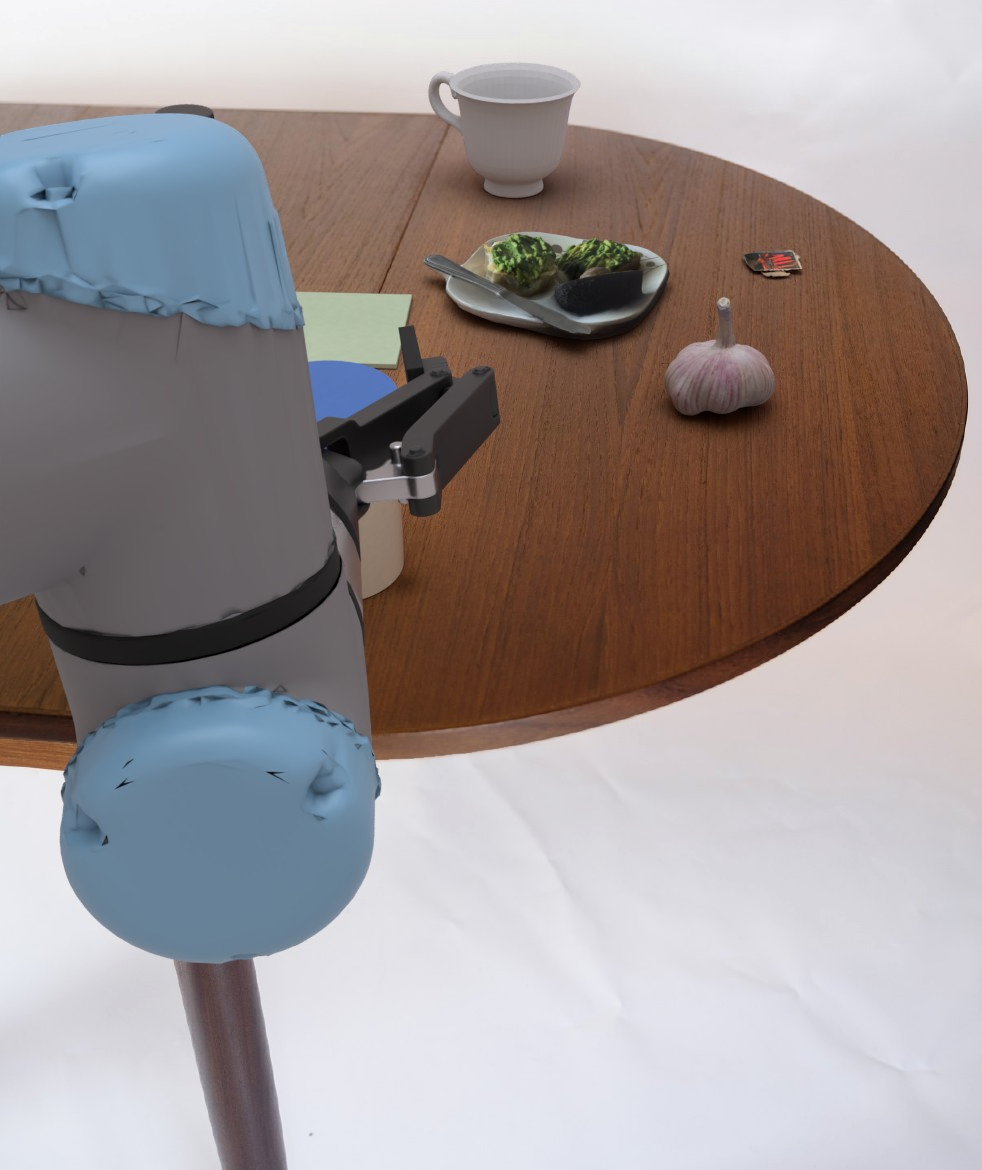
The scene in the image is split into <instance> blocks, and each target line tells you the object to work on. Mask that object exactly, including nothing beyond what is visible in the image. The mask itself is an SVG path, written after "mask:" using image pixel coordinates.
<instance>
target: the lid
mask: <svg viewBox="0 0 982 1170" xmlns="http://www.w3.org/2000/svg"><path fill="white" fill-rule="evenodd" d="M308 364H309V371H310V378H311V386H312V393H313V400H314V407H315V414H316V421H317V422H318V421H320V420H322V419H323V418H325V417H328V416H330V417H337V418H344V419H346V418H348V417H349V416H351V415H353V414H355V413H356V412H358V411H360V410H362V409H363V408H365V407H367V406H368V405H370V404H372V403H374V402H375V401H377V400H379V399H381V398H382V397H384V396H386V395H388V394H389V393H391V392H393V391H394V390H396V389H398V387H397V385H396V383H395V382H394V380H393V379H392V378H390V376H389V375H387V374H386V373H384V372H383V371H381V370H379V369H378V368H372V367H369V366H366V365H363V364H359V363H353V362H347V361H334V360H322V361H310V362H308ZM324 449H327V447H325V448H324Z"/></svg>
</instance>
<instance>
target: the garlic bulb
mask: <svg viewBox="0 0 982 1170" xmlns="http://www.w3.org/2000/svg"><path fill="white" fill-rule="evenodd" d="M716 309H717V314H718V320H719V327H718V332H717V337H716V339H710V340H706V341H703V342H702V341H701V342H700V341H697V342H696V341H695V342H693V343H690V344H688V345H686V346H685V347H684V348H682V349H681V350H680V351H679V352H678V354H677V355H676V357H675V359H673V360H672V361H671V363H670V364H669V365H668V367H667V368H666V370H665V373H664V387H665V389H666V391H667V394H668V395H669V396H670V399H671V402H672V405H673V407H674V408H675V409H676V411H678V412H679V413H681V414H682V415H685V416H695V415H699V414H700V413H703V412H707V411H708V412H712V413H714V414H717V415H725V414H729V413H732V412H735V411H737V410H738V409H740V408H746V407H757V406H760V405H762V404H764V403H766V402H767V401H768V400H769V399H770V398H771V397H772V395H773V394H774V391H775V389H776V378H775V373H774V371H773V369H772V368H771V364H770V363H769V361H768V359H767V358H766V356H765V355H764V354H763V353H762V352H760V351H759V350H757V349H756V348H754V347H752V346H750V345H748V344H740V343H737V342H736V338H735V334H734V328H733V321H732V320H733V317H732V304H731V301H730V299H729V298H727V297H725V296H722V297H721V298H719V299H718V300H717V302H716Z"/></svg>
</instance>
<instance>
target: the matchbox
mask: <svg viewBox="0 0 982 1170" xmlns="http://www.w3.org/2000/svg"><path fill="white" fill-rule="evenodd" d="M742 256H743V259H744V261H745V263H746V264H747V265H748V266H747V267H749V268H751V269H752V270H753V271H760V272H761V274H762V275H763V276H765V277H767V278H768V277H771V276H772V278H775V277H785V276H786V277H788V276H790V275H791V273H790V272H787V271H790V270H802V269H803V266H802V265H801V261H799V259H801V256H800V255H798V254H797V253H796V252H794V250H791V249H786V250H780V249H778V250H769V251H768V250H767V251H764V250H763V251H762V250H758V251H754V252H749V253H743V254H742ZM763 271H764V272H763ZM768 271H770V272H768Z"/></svg>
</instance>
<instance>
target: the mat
mask: <svg viewBox="0 0 982 1170" xmlns="http://www.w3.org/2000/svg"><path fill="white" fill-rule="evenodd" d="M296 296H297V300H298V302H299V303H300V305H301V306H302V308H303V309H302V311H303V317H304V322H305V326H303V329H304V336H305V343H306V350H307V357H308V362H310V361H322V360H334V361H347V362H353V363H359V364H363V365H366V366H369V367H372V368H375V369H393V370H396V369H397V368H398V365H399V360H400V355H401V352H402V348H401V342H400V335H399V329H398V327H405V326H407V325H408V320H409V315H410V310H411V306H412V301H413V294H410V293H409V294H408V293H407V294H405V293H403V294H401V293H365V292H364V293H362V292H361V293H359V292H326V291H325V292H323V291H322V292H320V291H296Z"/></svg>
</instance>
